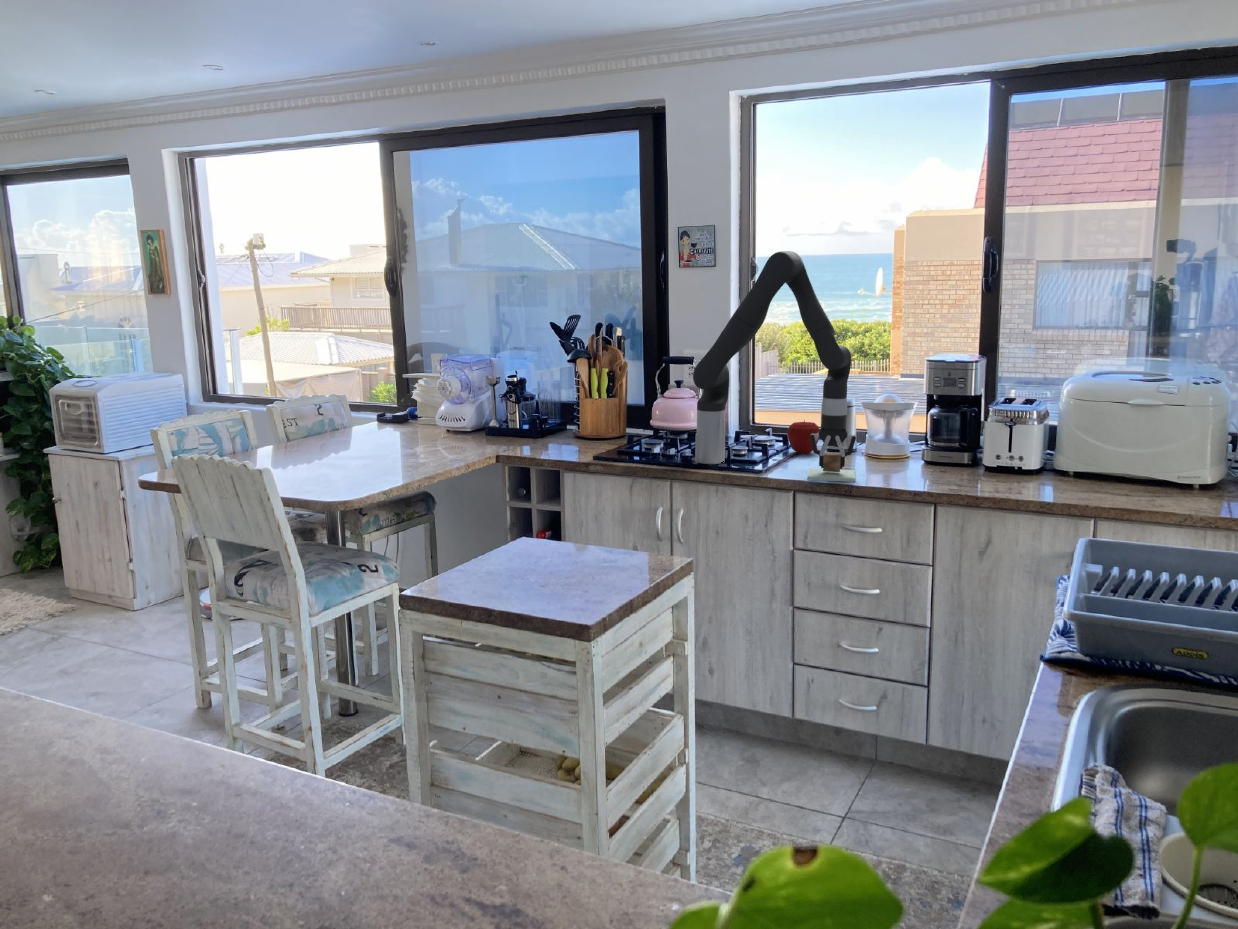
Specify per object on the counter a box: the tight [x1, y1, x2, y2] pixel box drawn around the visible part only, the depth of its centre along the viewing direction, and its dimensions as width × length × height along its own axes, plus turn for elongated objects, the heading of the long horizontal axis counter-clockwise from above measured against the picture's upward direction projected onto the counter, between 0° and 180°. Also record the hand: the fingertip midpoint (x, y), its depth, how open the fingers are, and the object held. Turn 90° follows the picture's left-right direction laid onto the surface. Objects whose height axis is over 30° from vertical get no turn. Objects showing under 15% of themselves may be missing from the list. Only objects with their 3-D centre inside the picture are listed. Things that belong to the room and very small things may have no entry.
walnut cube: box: [822, 451, 841, 472], centre depth 295 cm, size 5×5×5 cm
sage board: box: [807, 468, 857, 483], centre depth 296 cm, size 14×12×1 cm
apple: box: [786, 419, 820, 455], centre depth 332 cm, size 11×11×12 cm
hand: (831, 467), depth 296 cm, fingers closed on walnut cube, 5 cm apart
